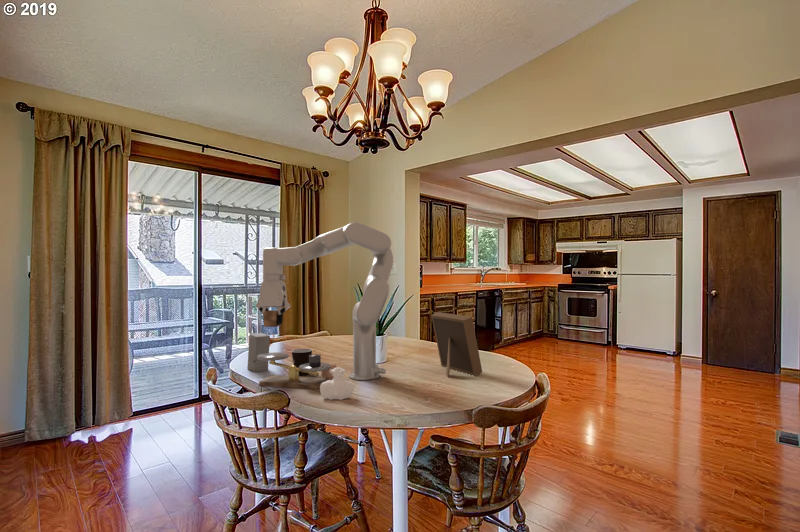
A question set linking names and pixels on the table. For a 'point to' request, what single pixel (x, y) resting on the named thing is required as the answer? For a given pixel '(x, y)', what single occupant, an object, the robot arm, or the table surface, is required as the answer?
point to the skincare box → (258, 351)
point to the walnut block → (270, 318)
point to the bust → (337, 386)
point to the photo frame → (457, 343)
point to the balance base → (292, 382)
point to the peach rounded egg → (328, 372)
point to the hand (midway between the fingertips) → (272, 323)
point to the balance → (308, 368)
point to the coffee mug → (301, 358)
